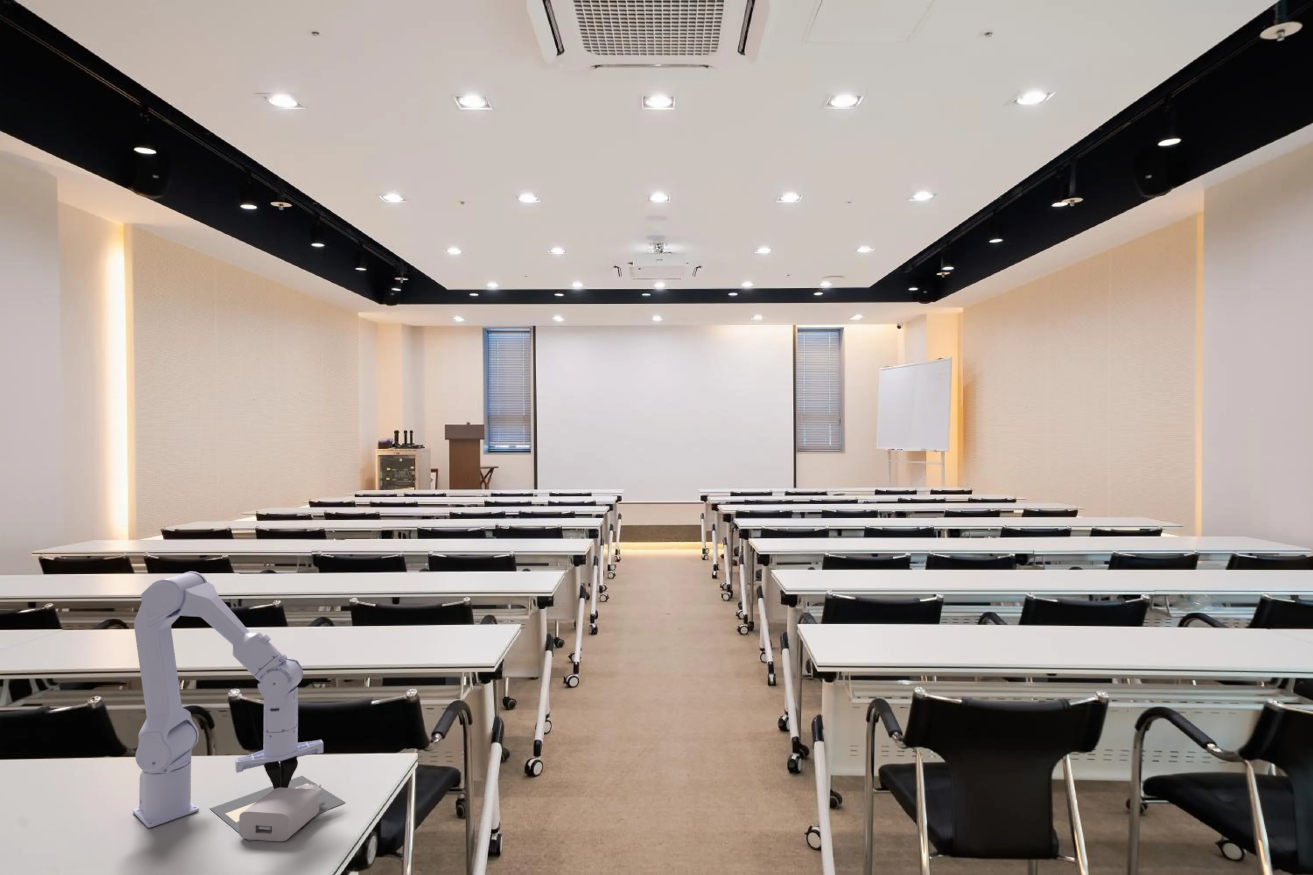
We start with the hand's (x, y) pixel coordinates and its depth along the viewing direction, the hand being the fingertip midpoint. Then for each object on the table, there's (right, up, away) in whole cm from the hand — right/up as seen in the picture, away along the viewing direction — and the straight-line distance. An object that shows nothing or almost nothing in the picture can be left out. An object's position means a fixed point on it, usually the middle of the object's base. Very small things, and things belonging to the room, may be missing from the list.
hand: (280, 799), depth 131 cm
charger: (+4, -1, -4) cm, 6 cm away
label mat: (-1, -1, 0) cm, 2 cm away
